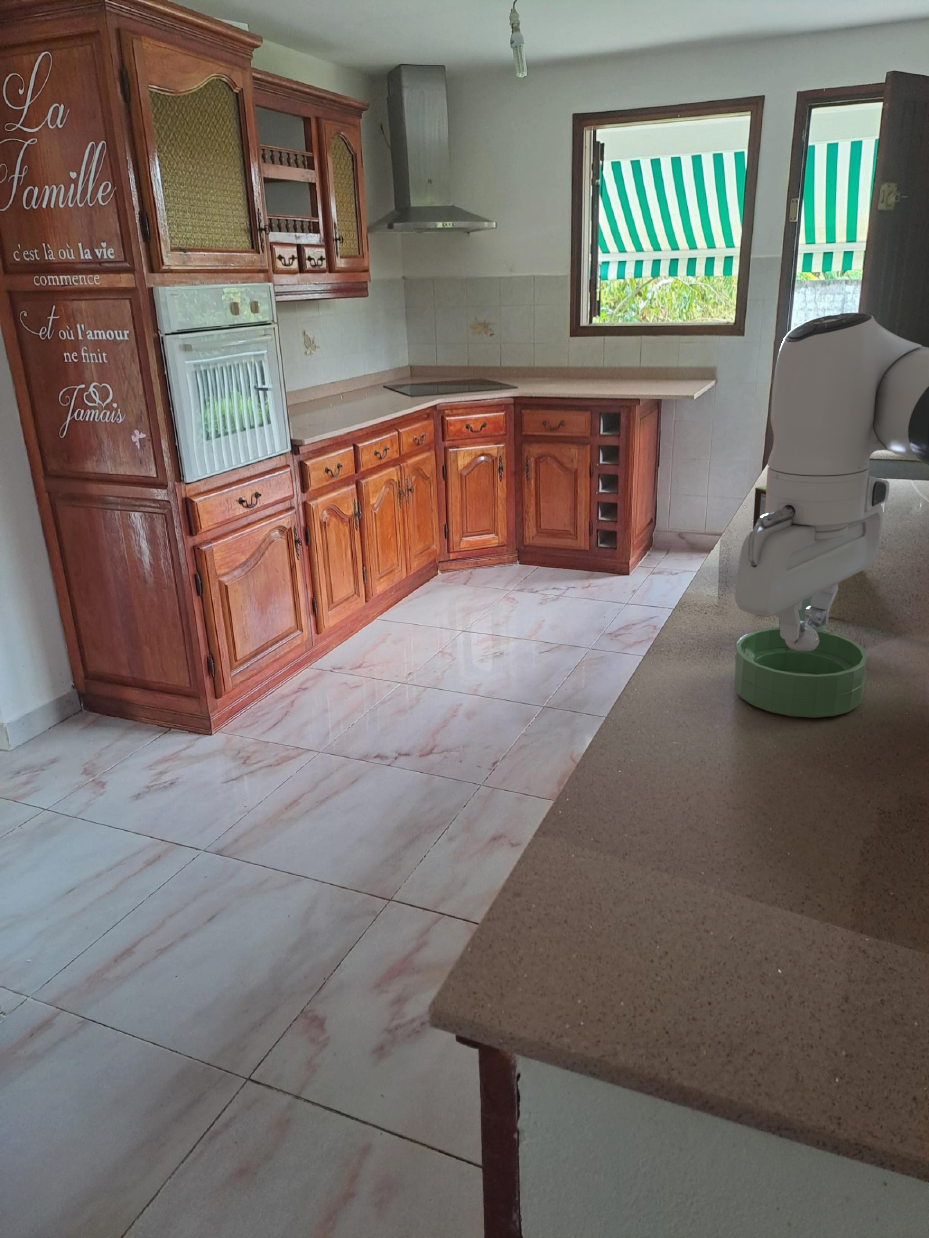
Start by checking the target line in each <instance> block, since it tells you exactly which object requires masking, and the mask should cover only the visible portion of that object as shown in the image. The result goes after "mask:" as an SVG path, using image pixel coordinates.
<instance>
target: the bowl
mask: <svg viewBox="0 0 929 1238" xmlns="http://www.w3.org/2000/svg"><path fill="white" fill-rule="evenodd" d="M814 630H815V629H814ZM815 631H816V632H817V634H818V637H819V644H818V646H817V647H816V648H815V649H814V650H812V651H796V650H794V649H791V648H789V647H788V645H787V644H786V641H785V639H783V638H781V636H780V628H779V627H770V628H763V629H758V630H755V631H752V632H750V633H748V634H745V635H743V636H742V637H740V638H739V640H738V641H737V642H736V645H735V656H734V657H735V658H734V659H735V660H734V673H733V689H734V691H735V692H736V694H737V695H738V696H739V697H740V698H741V699H742V700H743V701H746V702H747V703H749V704H750V705H752V706H754V707H755V708H759V709H762V710H764V711H767V712H770V713H775V714H779V715H783V716H788V717H799V718H822V717H823V718H827V717H835V716H838V715H843V714H846V713H850V712H851V711H853V710H854V709H856V708H857V707H859V706H860V705H861V702H862V700H863V699H864V693H865V684H866V677H867V668H868V661H869V657H868V654H867V652H866V650H865V648H864V647H862V646H861V645H860V644H859V643H857V642H856V641H854V640H852V639H850V638H847V637H845V636H843V635H840V634H836V633H833V632H829V631H826V630H825V631H821V630H815Z"/></svg>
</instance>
